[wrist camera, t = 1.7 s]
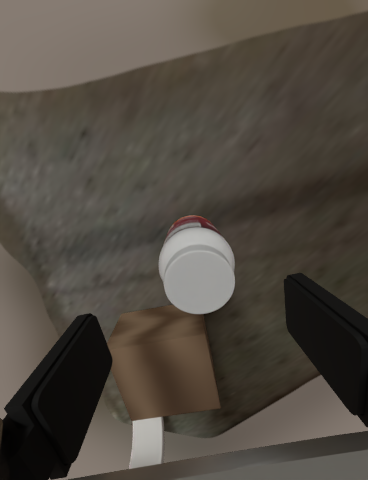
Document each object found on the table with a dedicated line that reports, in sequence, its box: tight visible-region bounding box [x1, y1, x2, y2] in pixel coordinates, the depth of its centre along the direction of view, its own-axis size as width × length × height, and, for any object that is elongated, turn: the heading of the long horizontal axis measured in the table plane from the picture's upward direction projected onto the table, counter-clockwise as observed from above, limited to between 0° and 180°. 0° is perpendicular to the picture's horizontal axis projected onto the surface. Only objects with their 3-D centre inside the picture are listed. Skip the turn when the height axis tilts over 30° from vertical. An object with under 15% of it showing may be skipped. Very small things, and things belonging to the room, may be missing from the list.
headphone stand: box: [129, 417, 164, 469], centre depth 24 cm, size 5×6×12 cm
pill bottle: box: [159, 215, 235, 314], centre depth 17 cm, size 6×6×11 cm
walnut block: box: [107, 305, 221, 421], centre depth 24 cm, size 11×11×6 cm
